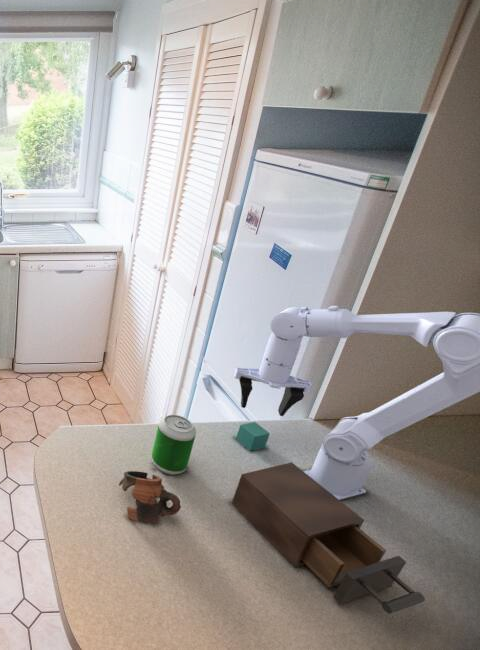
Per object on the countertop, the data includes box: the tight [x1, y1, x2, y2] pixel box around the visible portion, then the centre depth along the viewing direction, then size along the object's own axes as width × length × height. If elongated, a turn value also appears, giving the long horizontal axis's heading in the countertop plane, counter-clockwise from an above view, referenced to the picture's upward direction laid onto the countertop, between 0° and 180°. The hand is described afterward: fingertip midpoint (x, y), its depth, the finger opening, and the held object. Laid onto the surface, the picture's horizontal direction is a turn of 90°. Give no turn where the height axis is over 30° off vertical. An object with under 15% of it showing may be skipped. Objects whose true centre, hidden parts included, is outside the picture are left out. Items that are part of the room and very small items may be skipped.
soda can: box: [151, 414, 197, 476], centre depth 101 cm, size 8×8×12 cm
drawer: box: [301, 525, 426, 615], centre depth 78 cm, size 18×11×6 cm, turn 15°
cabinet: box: [231, 462, 365, 568], centre depth 87 cm, size 15×13×8 cm
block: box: [235, 421, 271, 452], centre depth 109 cm, size 4×4×4 cm
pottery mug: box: [118, 470, 182, 524], centre depth 91 cm, size 12×10×8 cm
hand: (261, 409), depth 105 cm, fingers open, 7 cm apart
